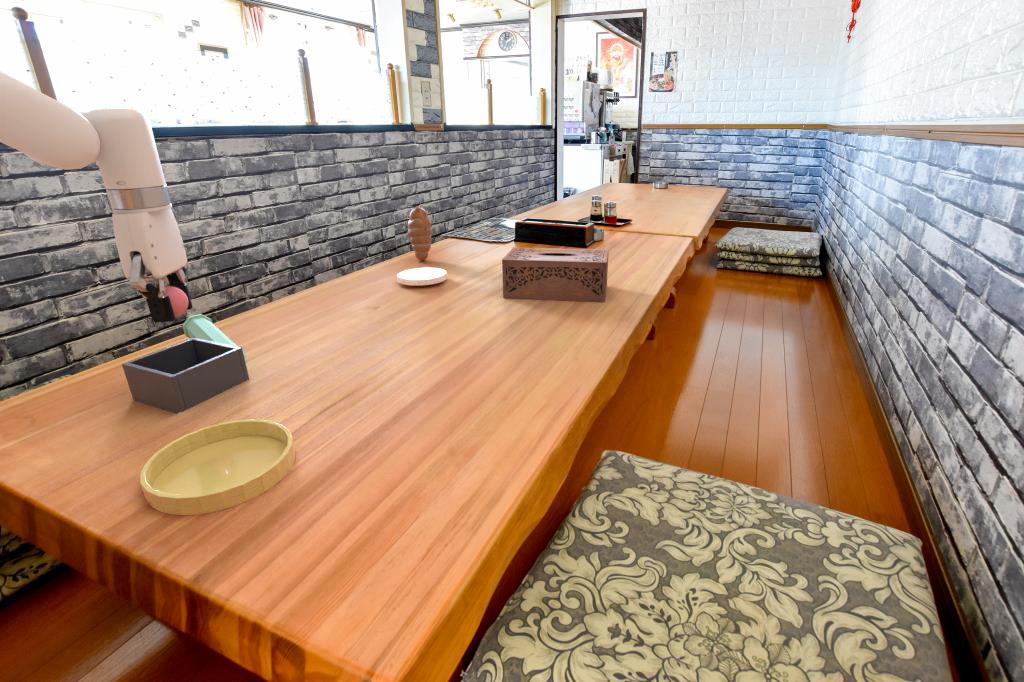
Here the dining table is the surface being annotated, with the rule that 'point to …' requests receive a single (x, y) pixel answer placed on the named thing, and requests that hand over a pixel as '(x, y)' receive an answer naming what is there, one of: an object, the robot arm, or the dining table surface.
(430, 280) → the plastic lid
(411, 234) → the croissant
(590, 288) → the tissue box cover
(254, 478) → the tray
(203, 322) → the container
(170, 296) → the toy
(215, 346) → the bin
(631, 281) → the dining table surface
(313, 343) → the dining table surface
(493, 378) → the dining table surface
